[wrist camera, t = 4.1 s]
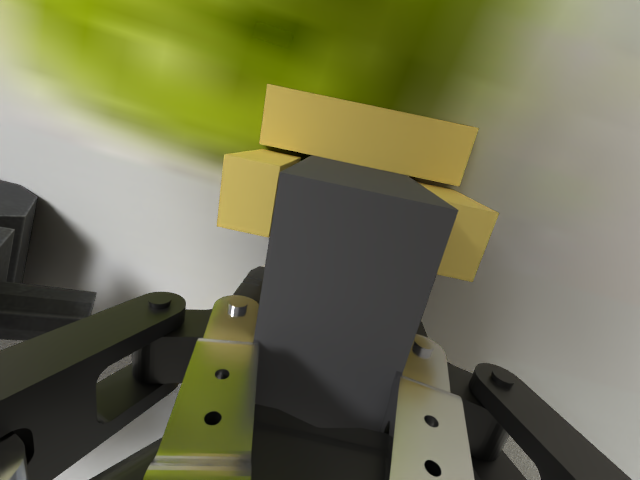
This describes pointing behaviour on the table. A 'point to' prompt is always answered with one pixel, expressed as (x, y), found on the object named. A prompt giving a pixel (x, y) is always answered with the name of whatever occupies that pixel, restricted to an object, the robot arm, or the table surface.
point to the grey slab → (344, 289)
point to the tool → (8, 268)
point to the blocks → (361, 149)
